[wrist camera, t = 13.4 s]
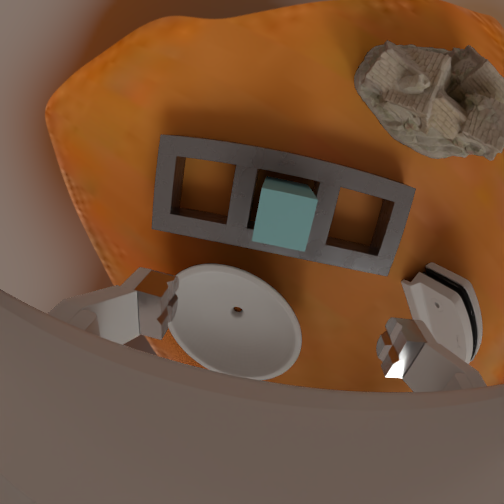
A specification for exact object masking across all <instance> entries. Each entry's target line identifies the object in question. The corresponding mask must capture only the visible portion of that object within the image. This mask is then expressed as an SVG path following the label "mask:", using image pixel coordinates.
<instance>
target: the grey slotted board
mask: <svg viewBox="0 0 504 504" xmlns="http://www.w3.org/2000/svg"><path fill="white" fill-rule="evenodd" d="M186 157H188V158H195V159H203V160H210V161H216V162H223V163H229V164H235V165H236V169H235V175H234V181H233V187H232V194H231V200H230V206H229V212H228V216H225V215H220V214H214V213H209V212H204V211H198V210H192V209H187V208H181V207H180V201H181V191H182V183H183V175H184V167H185V159H186ZM259 169H263V170H268V171H273V172H278V173H283V174H288V175H292V176H297V177H302V178H306V179H310V180H315V181H316V182H315V186H314V191H313V193H314V195H315V196H316V198H317V199H318V202H317V206H316V210H315V214H314V218H313V222H312V226H311V230H310V234H309V238H308V242H307V245H306V249H305V252H304V251H299V250H294V249H289V248H284V247H279V246H274V245H269V244H264V243H259V242H254V241H252V237H253V231H254V226H255V221H251V220H250V216H251V210H252V205H253V199H254V194H255V188H256V183H257V178H258V172H259ZM340 187H343V188H347V189H351V190H355V191H358V192H362V193H365V194H369V195H373V196H376V197H379V198H383V199H384V201H383V205H382V208H381V212H380V215H379V219H378V222H377V225H376V229H375V232H374V235H373V238H372V241H371V244H370V246H367V245H363V244H358V243H354V242H350V241H345V240H341V239H337V238H332V237H328V233H329V229H330V226H331V222H332V218H333V214H334V210H335V207H336V203H337V199H338V195H339V191H340ZM415 190H416V189H415V188H413V187H410V186H408V185H405V184H403V183H400V182H397V181H394V180H391V179H388V178H385V177H381V176H378V175H375V174H372V173H368V172H365V171H361V170H358V169H354V168H351V167H347V166H344V165H340V164H336V163H332V162H328V161H324V160H320V159H316V158H312V157H307V156H303V155H299V154H294V153H289V152H284V151H280V150H275V149H269V148H264V147H258V146H253V145H247V144H241V143H235V142H228V141H221V140H214V139H206V138H198V137H189V136H179V135H161V136H160V144H159V151H158V160H157V169H156V178H155V189H154V202H153V217H152V229H155V230H160V231H165V232H170V233H175V234H180V235H185V236H190V237H195V238H200V239H205V240H210V241H215V242H220V243H225V244H230V245H235V246H240V247H245V248H250V249H255V250H260V251H265V252H270V253H275V254H280V255H285V256H290V257H295V258H300V259H304V260H309V261H314V262H319V263H324V264H329V265H334V266H339V267H344V268H349V269H354V270H358V271H363V272H368V273H373V274H378V275H383V276H388V273H389V271H390V268H391V265H392V263H393V260H394V257H395V254H396V252H397V249H398V246H399V243H400V240H401V237H402V234H403V231H404V228H405V225H406V221H407V218H408V215H409V212H410V208H411V205H412V201H413V197H414V194H415Z"/></svg>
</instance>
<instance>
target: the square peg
mask: <svg viewBox="0 0 504 504" xmlns="http://www.w3.org/2000/svg"><path fill="white" fill-rule="evenodd" d="M317 202H318V199H317V198H316V196H315V195H314V193H313V191H312V190H311V188H310V187H309V185H308V184H303V183H299V182H294V181H290V180H285V179H280V178H275V177H270V176H266V178H265V181H264V183H263V186H262V189H261V195H260V200H259V205H258V210H257V216H256V221H255V226H254V231H253V237H252V241H254V242H259V243H264V244H269V245H274V246H279V247H284V248H289V249H294V250H299V251H304V252H305V249H306V245H307V242H308V238H309V234H310V230H311V226H312V222H313V218H314V214H315V210H316V206H317Z"/></svg>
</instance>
